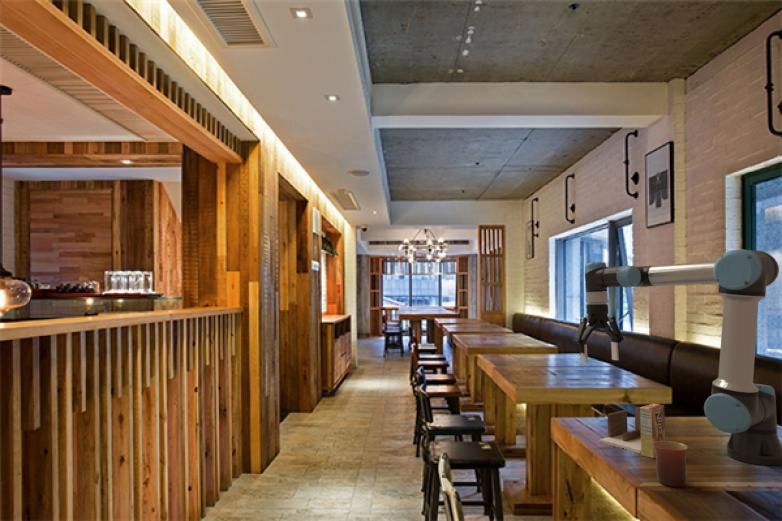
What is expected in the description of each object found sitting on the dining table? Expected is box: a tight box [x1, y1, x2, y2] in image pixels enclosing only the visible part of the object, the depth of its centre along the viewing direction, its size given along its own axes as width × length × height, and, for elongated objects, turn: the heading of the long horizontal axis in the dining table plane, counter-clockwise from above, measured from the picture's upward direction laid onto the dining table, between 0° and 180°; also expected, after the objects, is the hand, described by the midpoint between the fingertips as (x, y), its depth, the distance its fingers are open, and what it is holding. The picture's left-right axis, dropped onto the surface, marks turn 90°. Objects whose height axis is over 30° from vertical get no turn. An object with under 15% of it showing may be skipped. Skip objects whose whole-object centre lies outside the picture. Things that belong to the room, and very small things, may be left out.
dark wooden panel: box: [607, 409, 629, 438], centre depth 185 cm, size 1×10×9 cm, turn 123°
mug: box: [652, 440, 689, 488], centre depth 144 cm, size 12×9×10 cm
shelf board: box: [599, 435, 641, 454], centre depth 178 cm, size 15×15×1 cm
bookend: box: [623, 407, 641, 442], centre depth 178 cm, size 9×10×11 cm
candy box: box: [639, 402, 666, 459], centre depth 167 cm, size 9×4×15 cm, turn 129°
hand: (600, 361), depth 192 cm, fingers open, 13 cm apart
